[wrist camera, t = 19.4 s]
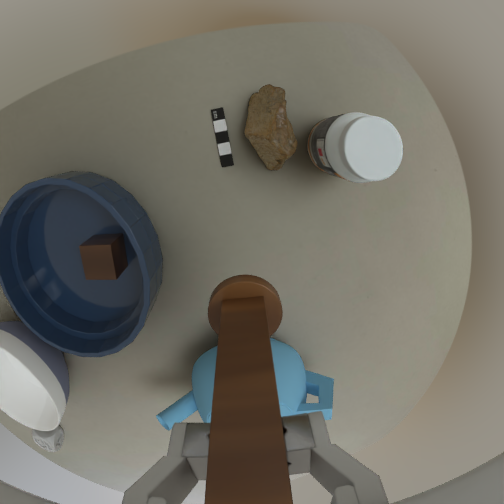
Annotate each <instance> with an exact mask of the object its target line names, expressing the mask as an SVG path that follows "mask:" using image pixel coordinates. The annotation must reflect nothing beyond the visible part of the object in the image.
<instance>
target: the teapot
mask: <svg viewBox="0 0 504 504" xmlns="http://www.w3.org/2000/svg"><path fill="white" fill-rule="evenodd" d="M270 341H271V348H272V355H273V362H274V369H275V377H276V384H277V391H278V398H279V405H280V412H281V417H283V416H290V415H297V414H303V413H311V412H317V411H322V413H323V416H324V420H330V419H331V417H332V404H333V384H334V379H333V378H329V377H326V376H323V375H319V374H316V373H313V372H310V371H307V370H305V368H304V364H303V362H302V359H301V357H300V355H299V354H298V353H297V352H296V350H295V349H293V348H292V347H291V346H289V345H287V344H285V343H283V342H280V341H277V340H275V339H273V338H270ZM216 356H217V346H216V347H214V348H212V349H210V350H208V351H206V352H205V353H203V354H202V355H201V356H200V357H199V358H198V359H197V361H196V362H195V364H194V366H193V371H192V387H193V390H192V391H190V392H189V393H188V394H186V395H185V396H183V397H182V398H181V399H179V400H178V401H176V402H175V403H174V404H172V405H171V406H169V407H168V408H166V409H165V410H164V411H162V412H161V413H159V414H158V415H156V417H157V419H158V421H159V422H160V423H161V425H162V426H163V427H164V428H166V429H167V430H170V429H172V427H173V425H174V423H180V422H182V421H183V420H184V419H186V418H187V417H188V416H190V415H191V414H192V413H194V412H195V411H197V410H198V411H199V414H200V416H201V418H202V420H203V421H204V423H211V411H212V400H213V388H214V377H215V367H216ZM307 393H309V394H312V395H315V396H319V403H306V397H307Z"/></svg>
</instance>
